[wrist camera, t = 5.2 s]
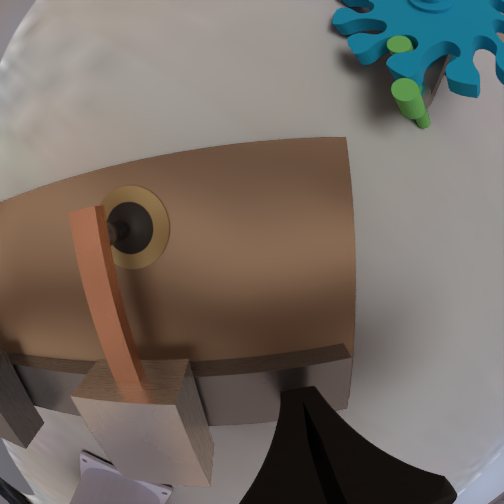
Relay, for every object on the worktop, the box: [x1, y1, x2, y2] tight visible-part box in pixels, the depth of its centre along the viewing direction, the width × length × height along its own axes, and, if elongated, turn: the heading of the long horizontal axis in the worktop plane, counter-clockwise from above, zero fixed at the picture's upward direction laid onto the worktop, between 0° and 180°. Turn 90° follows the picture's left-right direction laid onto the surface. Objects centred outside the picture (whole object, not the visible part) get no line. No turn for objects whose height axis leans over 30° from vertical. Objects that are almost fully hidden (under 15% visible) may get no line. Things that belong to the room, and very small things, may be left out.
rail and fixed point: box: [0, 343, 352, 449], centre depth 9 cm, size 11×21×4 cm, turn 96°
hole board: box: [0, 137, 356, 398], centre depth 12 cm, size 12×22×2 cm, turn 96°
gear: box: [332, 0, 504, 128], centre depth 8 cm, size 11×6×10 cm
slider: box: [69, 205, 214, 487], centre depth 9 cm, size 11×4×4 cm, turn 6°
